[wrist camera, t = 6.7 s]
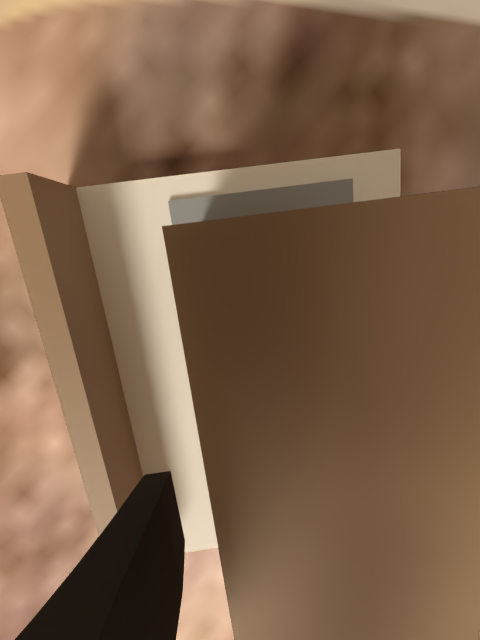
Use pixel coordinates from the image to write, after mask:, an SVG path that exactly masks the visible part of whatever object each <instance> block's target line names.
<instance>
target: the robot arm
mask: <svg viewBox="0 0 480 640" xmlns="http://www.w3.org/2000/svg"><path fill="white" fill-rule="evenodd" d="M184 553H185V538H184V533H183V528H182V524H181V519H180V514H179V509H178V504H177V499H176V494H175V490H174V485H173V480H172V475H171V471H166V472H159V473H152V474H145V475H144V476H143V477H142V479H141V480H140V481H139V483H138V484H137V485H136V487H135V488H134V489H133V491H132V492H131V493H130V495H129V496H128V498H127V499H126V500H125V502H124V503H123V505H122V506H121V507H120V509H119V510H118V511H117V513H116V514H115V516H114V517H113V518H112V520H111V521H110V522H109V524H108V525H107V526H106V528H105V529H104V530H103V532H102V533H101V534H100V536H99V537H98V538H97V540H96V541H95V542H94V544H93V545H92V546H91V547H90V549H89V550H88V551H87V553H86V554H85V555H84V557H83V558H82V559H81V561H80V562H79V563H78V564H77V566H76V567H75V568H74V569H73V571H72V572H71V573H70V574H69V576H68V577H67V578H66V579H65V580H64V582H63V583H62V584H61V585H60V587H59V588H58V589H57V590H56V591H55V593H54V594H53V595H52V596H51V598H50V599H49V600H48V601H47V602H46V604H45V605H44V606H43V607H42V608H41V610H40V611H39V612H38V613H37V615H36V616H35V617H34V618H33V619H32V620H31V622H30V623H29V624H28V625H27V626H26V627H25V628H24V630H23V631H22V632H21V633H20V634H19V635H18V637H17V638H16V639H15V640H176V634H177V627H178V620H179V613H180V606H181V599H182V591H183V574H184Z"/></svg>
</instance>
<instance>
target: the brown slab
mask: <svg viewBox="0 0 480 640" xmlns="http://www.w3.org/2000/svg"><path fill="white" fill-rule="evenodd" d="M162 230H163V236H164V242H165V247H166V253H167V259H168V264H169V270H170V276H171V281H172V287H173V293H174V298H175V304H176V310H177V316H178V321H179V327H180V333H181V338H182V344H183V350H184V355H185V361H186V367H187V372H188V378H189V384H190V390H191V395H192V401H193V407H194V412H195V418H196V424H197V429H198V435H199V441H200V446H201V452H202V458H203V464H204V469H205V475H206V481H207V486H208V492H209V498H210V503H211V509H212V515H213V520H214V526H215V532H216V537H217V543H218V549H219V555H220V560H221V566H222V572H223V577H224V583H225V589H226V594H227V600H228V606H229V611H230V617H231V623H232V629H233V634H234V640H479V632H480V187H472V188H464V189H456V190H448V191H440V192H432V193H424V194H416V195H408V196H400V197H392V198H384V199H376V200H368V201H360V202H352V203H344V204H336V205H328V206H320V207H312V208H304V209H296V210H288V211H280V212H272V213H264V214H255V215H247V216H239V217H231V218H223V219H215V220H207V221H199V222H191V223H183V224H175V225H167V226H162Z"/></svg>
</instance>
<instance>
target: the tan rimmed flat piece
mask: <svg viewBox="0 0 480 640" xmlns="http://www.w3.org/2000/svg"><path fill="white" fill-rule="evenodd" d="M400 196H401V148H400V149H392V150H383V151H375V152H367V153H358V154H350V155H342V156H333V157H325V158H317V159H308V160H300V161H292V162H284V163H275V164H267V165H259V166H250V167H242V168H234V169H225V170H217V171H209V172H200V173H192V174H184V175H175V176H167V177H159V178H151V179H142V180H134V181H126V182H117V183H109V184H101V185H92V186H84V187H72V186H69V185H66V184H63V183H60V182H56V181H53V180H50V179H47V178H44V177H40V176H37V175H34V174H31V173H27V172H24V173H16V174H7V175H0V198H1V201H2V205H3V208H4V212H5V215H6V218H7V222H8V225H9V229H10V232H11V236H12V239H13V242H14V246H15V249H16V253H17V256H18V260H19V263H20V267H21V270H22V273H23V277H24V280H25V284H26V287H27V291H28V294H29V298H30V301H31V304H32V308H33V311H34V315H35V318H36V322H37V325H38V328H39V332H40V335H41V339H42V342H43V346H44V349H45V353H46V356H47V359H48V363H49V366H50V370H51V373H52V377H53V380H54V383H55V387H56V390H57V394H58V397H59V401H60V404H61V408H62V411H63V414H64V418H65V421H66V425H67V428H68V432H69V435H70V438H71V442H72V445H73V449H74V452H75V456H76V459H77V463H78V466H79V469H80V473H81V476H82V480H83V483H84V487H85V490H86V494H87V497H88V500H89V504H90V507H91V511H92V514H93V518H94V521H95V524H96V528H97V531H98V535H99V536H100V534H101V533H102V532H103V530H104V529H105V528H106V526H107V525H108V524H109V522H110V521H111V520H112V518H113V517H114V516H115V514H116V513H117V511H118V510H119V509H120V507H121V506H122V505H123V503H124V502H125V500H126V499H127V498H128V496H129V495H130V493H131V492H132V491H133V489H134V488H135V487H136V485H137V484H138V483H139V481H140V480H141V479H142V477H143V476H144V475H145V474H152V473H159V472H166V471H171V475H172V480H173V485H174V490H175V494H176V499H177V504H178V509H179V514H180V519H181V524H182V528H183V533H184V538H185V552H192V551H198V550H205V549H211V548H218V543H217V537H216V532H215V526H214V520H213V515H212V509H211V503H210V498H209V492H208V486H207V481H206V475H205V469H204V464H203V458H202V452H201V446H200V441H199V435H198V429H197V424H196V418H195V412H194V407H193V401H192V395H191V390H190V384H189V378H188V372H187V367H186V361H185V355H184V350H183V344H182V338H181V333H180V327H179V321H178V316H177V310H176V304H175V298H174V293H173V287H172V281H171V276H170V270H169V264H168V259H167V253H166V247H165V242H164V236H163V230H162V226H167V225H175V224H183V223H191V222H199V221H207V220H215V219H223V218H231V217H239V216H247V215H255V214H264V213H272V212H280V211H288V210H296V209H304V208H312V207H320V206H328V205H336V204H344V203H352V202H360V201H368V200H376V199H384V198H392V197H400Z"/></svg>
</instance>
